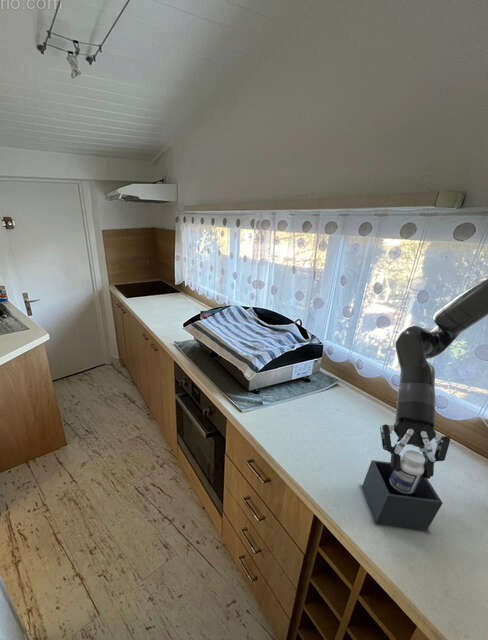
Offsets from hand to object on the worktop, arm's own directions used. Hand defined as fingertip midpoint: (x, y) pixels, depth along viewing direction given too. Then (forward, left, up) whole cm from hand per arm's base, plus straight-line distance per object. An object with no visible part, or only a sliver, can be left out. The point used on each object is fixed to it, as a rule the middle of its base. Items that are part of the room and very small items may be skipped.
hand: (411, 474), depth 71 cm
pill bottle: (0, -2, -6) cm, 6 cm away
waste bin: (0, -2, -14) cm, 14 cm away
